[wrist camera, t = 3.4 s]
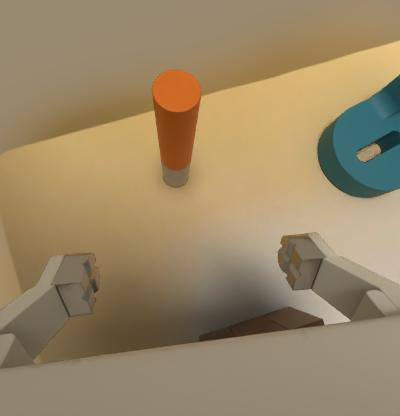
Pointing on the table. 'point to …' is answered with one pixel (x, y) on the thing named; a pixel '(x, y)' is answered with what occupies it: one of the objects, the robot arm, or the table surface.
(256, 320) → the pen stand
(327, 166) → the camera mount
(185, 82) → the orange cylinder rod
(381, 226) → the table surface
